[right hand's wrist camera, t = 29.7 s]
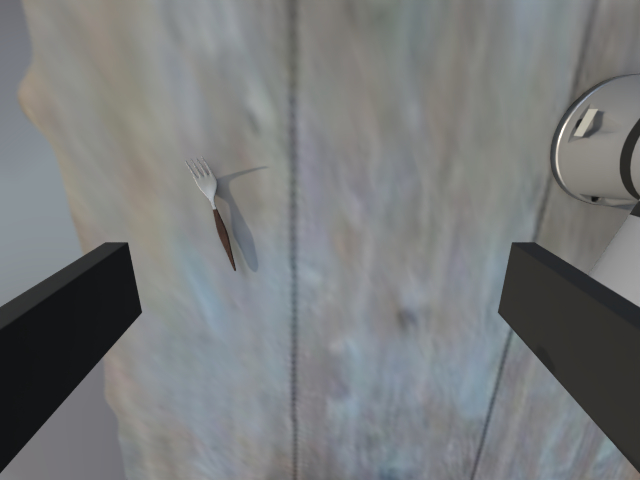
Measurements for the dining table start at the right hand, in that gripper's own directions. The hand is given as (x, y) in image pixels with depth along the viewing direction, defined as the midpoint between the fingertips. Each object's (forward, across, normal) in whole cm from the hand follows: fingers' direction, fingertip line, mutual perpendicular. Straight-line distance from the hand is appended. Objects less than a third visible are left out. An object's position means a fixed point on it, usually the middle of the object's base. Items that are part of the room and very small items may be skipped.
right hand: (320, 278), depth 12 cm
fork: (+34, -14, -8) cm, 37 cm away
